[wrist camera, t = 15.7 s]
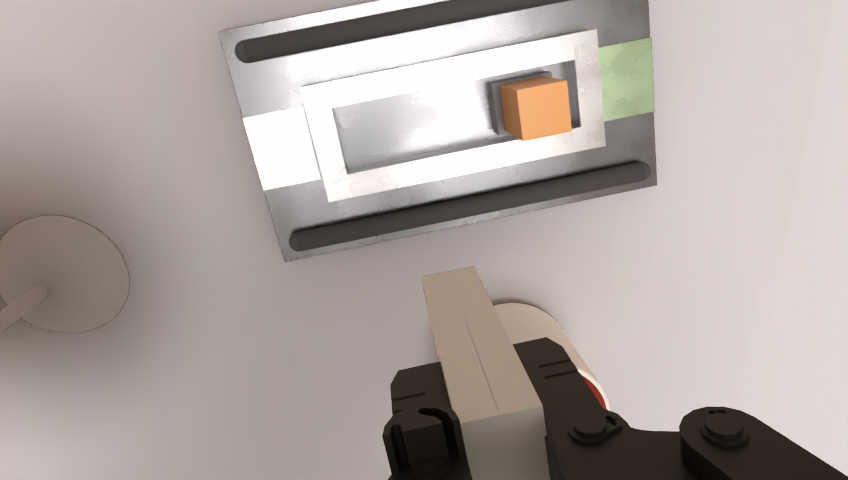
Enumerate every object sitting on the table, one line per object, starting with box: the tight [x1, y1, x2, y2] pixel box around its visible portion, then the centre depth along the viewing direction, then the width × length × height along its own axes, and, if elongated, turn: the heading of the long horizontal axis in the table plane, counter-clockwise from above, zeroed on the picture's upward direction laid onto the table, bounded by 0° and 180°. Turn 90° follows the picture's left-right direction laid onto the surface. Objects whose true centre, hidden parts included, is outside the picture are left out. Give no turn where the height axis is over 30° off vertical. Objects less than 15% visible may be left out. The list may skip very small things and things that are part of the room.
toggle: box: [487, 71, 572, 141], centre depth 36 cm, size 4×3×6 cm
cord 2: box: [235, 0, 569, 63], centre depth 36 cm, size 26×1×1 cm, turn 101°
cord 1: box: [289, 162, 651, 252], centre depth 41 cm, size 26×1×1 cm, turn 101°
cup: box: [494, 303, 611, 411], centre depth 42 cm, size 10×10×10 cm
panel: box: [219, 0, 657, 262], centre depth 39 cm, size 28×16×3 cm, turn 101°
